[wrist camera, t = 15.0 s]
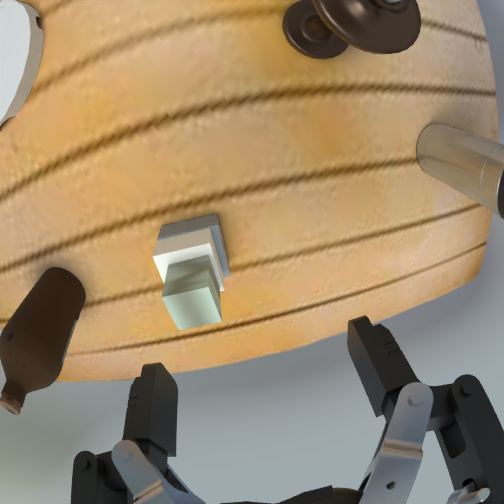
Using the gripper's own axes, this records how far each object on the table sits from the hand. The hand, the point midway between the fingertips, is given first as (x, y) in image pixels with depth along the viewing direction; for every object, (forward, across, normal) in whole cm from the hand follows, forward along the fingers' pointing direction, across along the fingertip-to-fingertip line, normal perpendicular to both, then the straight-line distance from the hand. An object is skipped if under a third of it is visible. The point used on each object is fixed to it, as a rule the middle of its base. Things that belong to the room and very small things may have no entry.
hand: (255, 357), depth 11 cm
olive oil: (+28, +33, +10) cm, 45 cm away
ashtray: (+28, +31, -31) cm, 52 cm away
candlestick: (+29, -15, -17) cm, 37 cm away
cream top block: (+25, +8, +9) cm, 27 cm away
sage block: (+21, +7, +9) cm, 24 cm away
